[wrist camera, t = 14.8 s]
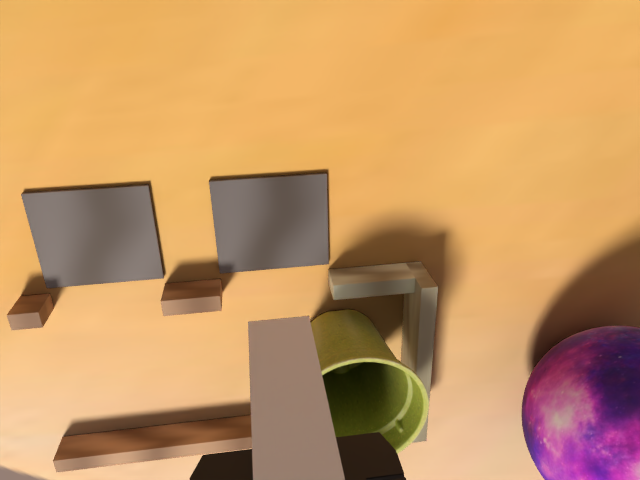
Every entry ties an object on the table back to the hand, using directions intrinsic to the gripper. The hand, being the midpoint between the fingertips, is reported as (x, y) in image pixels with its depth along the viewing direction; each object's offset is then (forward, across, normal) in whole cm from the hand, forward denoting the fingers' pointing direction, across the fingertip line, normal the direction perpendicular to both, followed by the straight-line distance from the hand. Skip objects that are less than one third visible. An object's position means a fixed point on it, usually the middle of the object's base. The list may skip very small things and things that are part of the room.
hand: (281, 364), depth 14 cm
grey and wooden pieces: (+24, -3, -14) cm, 28 cm away
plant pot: (+25, +6, -17) cm, 30 cm away
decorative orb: (+25, +26, -22) cm, 42 cm away
